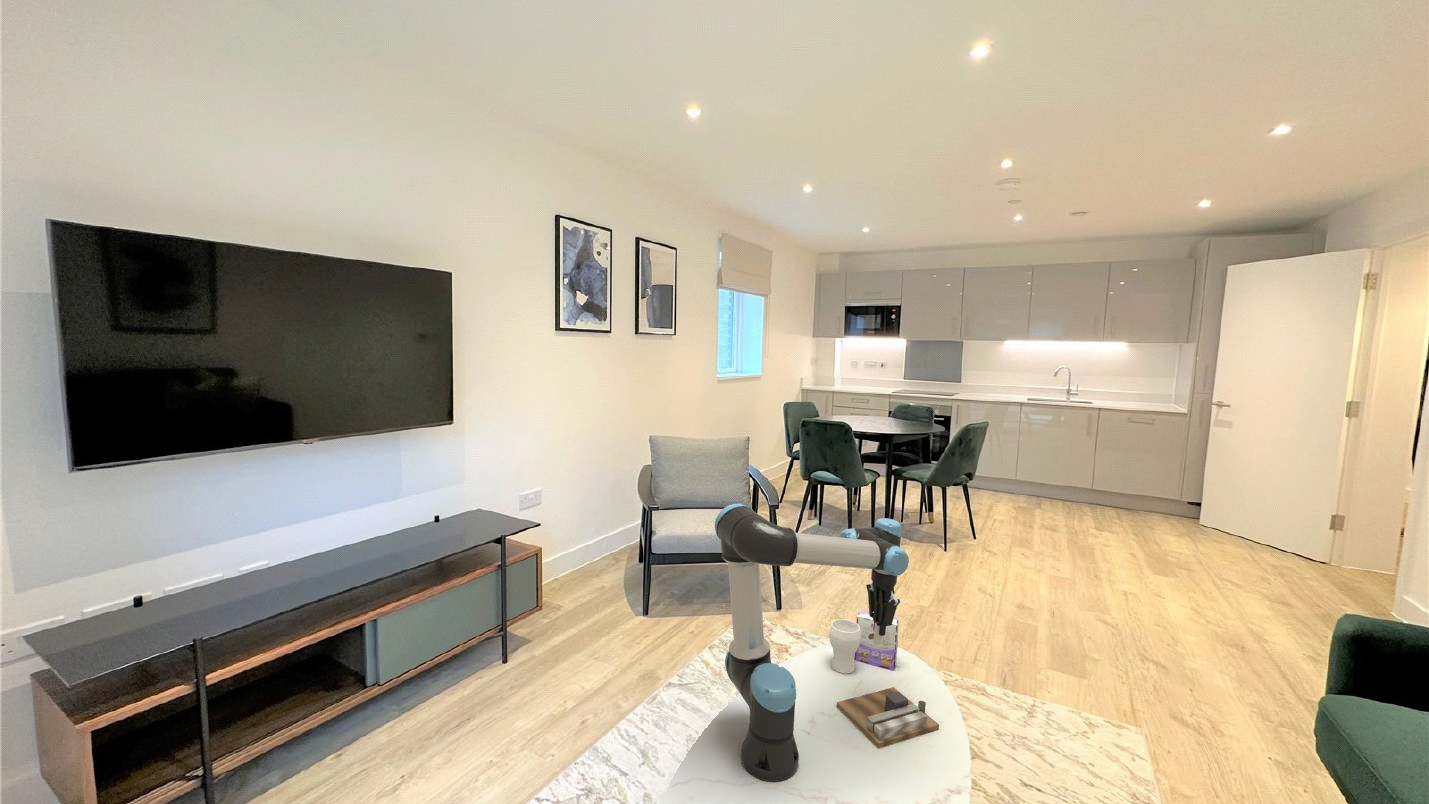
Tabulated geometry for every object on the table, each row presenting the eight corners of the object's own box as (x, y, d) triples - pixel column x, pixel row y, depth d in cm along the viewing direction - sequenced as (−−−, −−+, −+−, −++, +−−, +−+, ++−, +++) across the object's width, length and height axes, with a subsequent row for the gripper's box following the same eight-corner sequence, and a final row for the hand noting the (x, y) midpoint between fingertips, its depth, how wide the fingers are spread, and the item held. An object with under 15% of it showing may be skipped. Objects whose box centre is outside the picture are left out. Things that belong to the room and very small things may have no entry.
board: (878, 748, 151) (879, 729, 151) (836, 706, 168) (837, 689, 168) (938, 729, 160) (940, 711, 159) (893, 691, 177) (894, 675, 177)
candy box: (896, 662, 194) (899, 618, 193) (894, 671, 189) (897, 625, 187) (856, 652, 200) (859, 608, 198) (853, 660, 194) (856, 615, 193)
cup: (827, 674, 186) (830, 631, 184) (826, 657, 196) (829, 616, 195) (860, 678, 184) (863, 635, 182) (857, 660, 194) (860, 620, 193)
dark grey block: (894, 717, 162) (895, 703, 161) (884, 709, 166) (885, 695, 165) (907, 713, 164) (908, 699, 163) (897, 705, 168) (898, 691, 167)
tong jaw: (872, 732, 155) (873, 722, 155) (866, 726, 157) (867, 717, 157) (918, 718, 162) (919, 708, 161) (913, 713, 164) (913, 703, 164)
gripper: (909, 576, 165) (902, 652, 167) (880, 560, 177) (874, 631, 179) (889, 579, 162) (882, 656, 164) (861, 563, 174) (855, 635, 176)
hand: (878, 643), depth 171 cm, fingers closed
